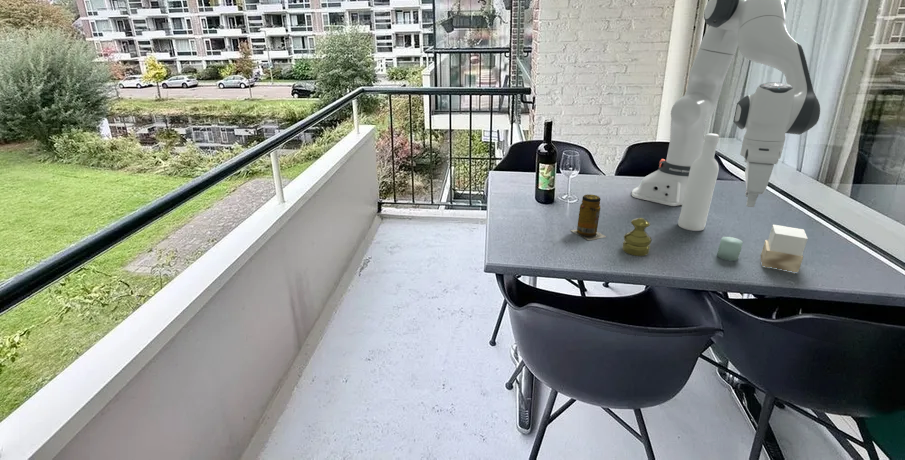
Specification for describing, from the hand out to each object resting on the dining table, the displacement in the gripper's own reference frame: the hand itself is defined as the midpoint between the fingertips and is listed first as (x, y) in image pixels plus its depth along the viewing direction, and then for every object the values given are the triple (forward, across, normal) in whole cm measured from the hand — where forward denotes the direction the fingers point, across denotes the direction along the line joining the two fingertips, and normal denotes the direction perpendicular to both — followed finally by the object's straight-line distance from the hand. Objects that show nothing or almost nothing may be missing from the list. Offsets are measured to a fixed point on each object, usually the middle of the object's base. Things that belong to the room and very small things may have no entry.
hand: (749, 201), depth 122 cm
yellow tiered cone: (+16, +10, -25) cm, 32 cm away
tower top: (+12, -1, +10) cm, 16 cm away
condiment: (+15, +5, -40) cm, 43 cm away
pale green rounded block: (+17, +1, -2) cm, 17 cm away
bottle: (+16, -19, -13) cm, 28 cm away
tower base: (+17, -1, +10) cm, 20 cm away
